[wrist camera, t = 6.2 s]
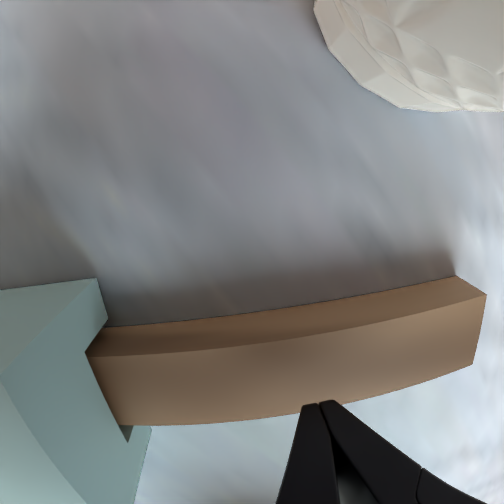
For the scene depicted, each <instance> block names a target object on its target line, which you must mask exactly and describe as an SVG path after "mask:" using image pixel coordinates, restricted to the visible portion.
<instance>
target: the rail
mask: <svg viewBox="0 0 504 504" xmlns="http://www.w3.org/2000/svg"><path fill="white" fill-rule="evenodd" d="M486 296H487V294H485V293H484V292H482V291H480V290H479V289H477V288H476V287H474V286H472V285H471V284H469V283H468V282H466V281H464V280H463V279H461V278H459V277H458V276H453V277H449V278H444V279H440V280H435V281H430V282H426V283H421V284H416V285H412V286H407V287H402V288H397V289H392V290H387V291H382V292H376V293H371V294H366V295H360V296H355V297H349V298H343V299H338V300H332V301H326V302H320V303H314V304H307V305H301V306H295V307H288V308H281V309H274V310H267V311H260V312H253V313H245V314H238V315H230V316H222V317H214V318H205V319H196V320H187V321H177V322H167V323H157V324H146V325H134V326H122V327H109V328H101V329H100V331H99V332H98V333H97V335H96V336H95V338H94V339H93V340H92V342H91V343H90V345H89V346H88V347H87V349H86V350H85V354H86V357H87V359H88V362H89V364H90V367H91V369H92V371H93V374H94V376H95V378H96V381H97V383H98V385H99V387H100V390H101V392H102V394H103V396H104V398H105V400H106V402H107V404H108V407H109V409H110V411H111V413H112V415H113V417H114V419H115V421H116V423H117V424H118V425H140V426H161V425H193V424H210V423H223V422H234V421H244V420H253V419H261V418H269V417H276V416H283V415H289V414H295V413H300V412H301V407H302V406H303V405H305V404H311V403H317V404H318V403H319V402H321V401H326V400H330V399H333V400H335V401H337V402H338V403H339V404H340V405H342V404H346V403H351V402H355V401H359V400H363V399H367V398H371V397H375V396H379V395H382V394H386V393H390V392H393V391H397V390H400V389H403V388H407V387H410V386H413V385H416V384H420V383H423V382H426V381H429V380H432V379H435V378H437V377H440V376H443V375H446V374H449V373H451V372H454V371H457V370H459V369H462V368H465V367H467V366H470V365H472V364H473V360H474V356H475V352H476V348H477V343H478V339H479V334H480V329H481V324H482V319H483V314H484V308H485V302H486Z"/></svg>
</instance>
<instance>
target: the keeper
mask: <svg viewBox="0 0 504 504" xmlns="http://www.w3.org/2000/svg"><path fill="white" fill-rule="evenodd" d="M107 320H108V316H107V312H106V309H105V306H104V302H103V299H102V296H101V292H100V289H99V285H98V281H97V278H91V279H84V280H76V281H68V282H60V283H53V284H45V285H37V286H29V287H21V288H13V289H5V290H0V504H134V500H135V495H136V491H137V487H138V483H139V478H140V474H141V470H142V466H143V462H144V458H145V454H146V450H147V446H148V442H149V438H150V434H151V431H152V430H151V428H150V426H140V425H118V424H117V423H116V421H115V419H114V417H113V415H112V413H111V411H110V409H109V407H108V404H107V402H106V400H105V398H104V396H103V394H102V392H101V390H100V387H99V385H98V383H97V381H96V378H95V376H94V374H93V371H92V369H91V367H90V364H89V362H88V359H87V357H86V354H85V350H86V349H87V347H88V346H89V345H90V343H91V342H92V340H93V339H94V338H95V336H96V335H97V333H98V332H99V331H100V329H101V328H102V326H103V325H104V324H105V322H106V321H107Z"/></svg>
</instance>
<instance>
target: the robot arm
mask: <svg viewBox="0 0 504 504" xmlns="http://www.w3.org/2000/svg"><path fill="white" fill-rule="evenodd" d="M421 468H422V467H421V466H420V465H419V464H418V463H416V462H415V461H414V460H412V459H411V458H409V457H408V456H407V455H405V454H404V453H403V452H401V451H400V450H399V449H397V448H396V447H395V446H393V445H392V444H391V443H389V442H388V441H387V440H385V439H384V438H383V437H381V436H380V435H379V434H377V433H376V432H375V431H373V430H372V429H371V428H370V427H368V426H367V425H366V424H364V423H363V422H362V421H361V420H359V419H358V418H357V417H356V416H354V415H353V414H352V413H350V412H349V411H348V410H347V409H345V408H344V407H343V406H342V405H340V404H339V403H338V402H337V401H335V400H333V399H330V400H326V401H321V402H319V403H318V404H317V403H311V404H305V405H303V406H302V407H301V412H300V416H299V420H298V424H297V428H296V432H295V436H294V440H293V444H292V447H291V451H290V455H289V459H288V462H287V466H286V470H285V473H284V477H283V480H282V484H281V487H280V490H279V494H278V497H277V500H276V504H487V503H485V502H483V501H480V500H478V499H476V498H474V497H472V496H470V495H468V494H465V493H464V492H462V491H460V490H458V489H456V488H454V487H452V486H450V485H449V484H447V483H446V482H444V481H442V480H441V479H439V478H438V477H436V476H435V475H433V474H432V473H430V472H429V471H428V470H426V469H425V468H422V469H421Z"/></svg>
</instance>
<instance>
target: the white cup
mask: <svg viewBox="0 0 504 504" xmlns="http://www.w3.org/2000/svg"><path fill="white" fill-rule="evenodd" d="M313 11H314V14H315V16H316V19H317V21H318V24H319V26H320V29H321V31H322V34H323V37H324V39H325V42H326V45H327V47H328V50H329V51H330V52H331V53H332V54H333V55H334V56H335V57H336V58H337V60H338V61H339V62H340V63H341V64H342V65H343V66H344V67H345V69H346V70H347V71H348V72H349V73H350V74H351V75H352V77H353V78H354V79H355V80H356V81H357V83H358V84H359V85H360V86H362V87H364V88H366V89H368V90H369V91H371V92H373V93H375V94H376V95H378V96H380V97H382V98H383V99H385V100H387V101H388V102H390V103H392V104H393V105H395V106H397V107H398V108H405V109H413V110H421V111H428V112H448V111H459V110H467V111H479V112H504V0H315V2H314V9H313Z"/></svg>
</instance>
